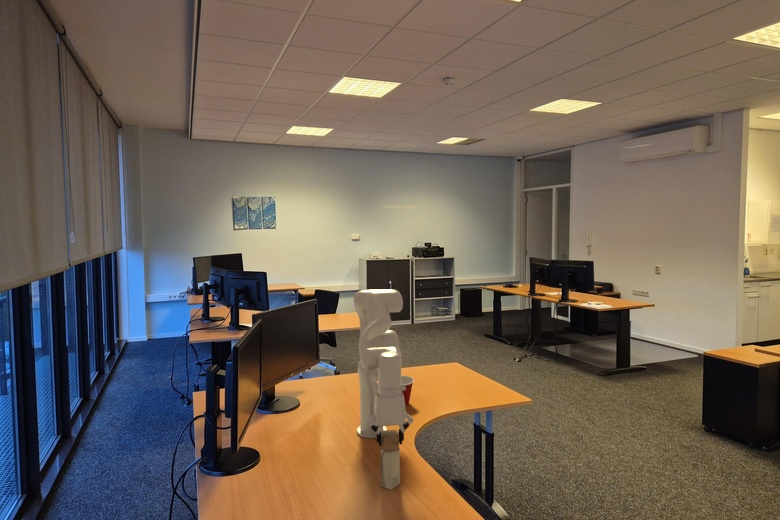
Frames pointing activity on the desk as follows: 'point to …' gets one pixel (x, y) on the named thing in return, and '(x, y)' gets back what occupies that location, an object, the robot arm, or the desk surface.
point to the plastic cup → (407, 387)
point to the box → (390, 469)
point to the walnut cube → (390, 440)
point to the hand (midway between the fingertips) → (390, 442)
